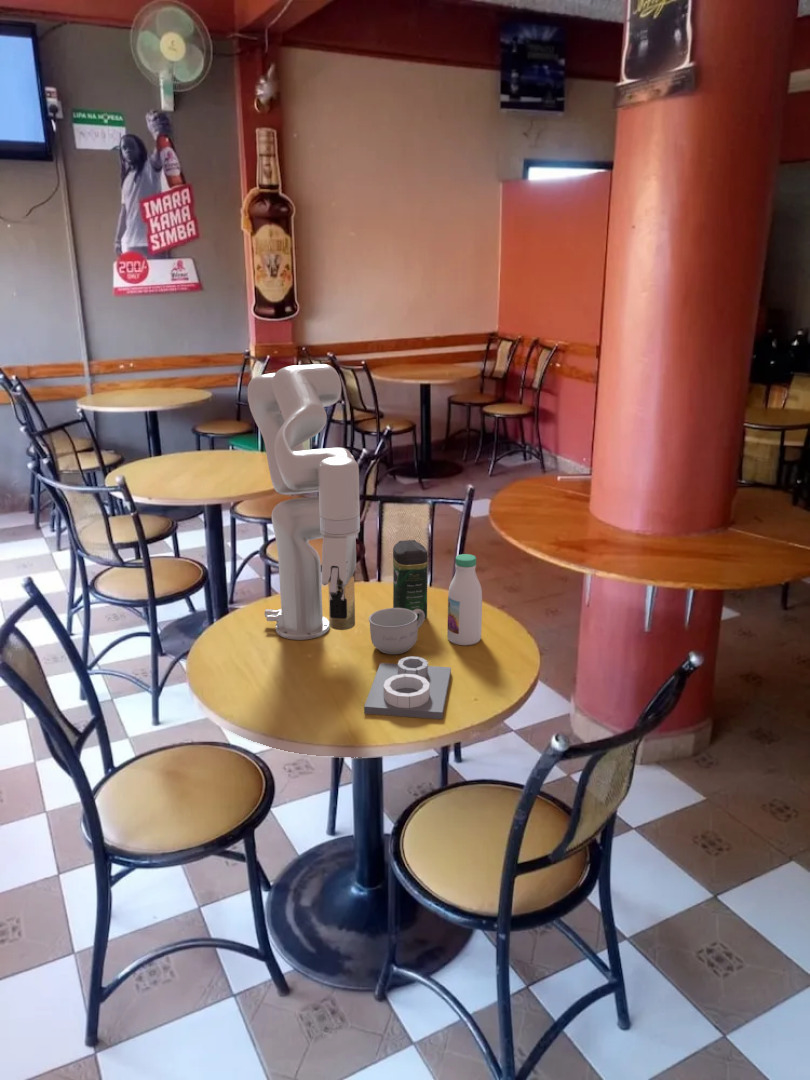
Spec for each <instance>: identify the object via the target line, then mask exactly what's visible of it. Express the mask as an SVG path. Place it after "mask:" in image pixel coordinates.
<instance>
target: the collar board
mask: <svg viewBox="0 0 810 1080" xmlns="http://www.w3.org/2000/svg"><path fill="white" fill-rule="evenodd" d="M451 675H452V667H450V666H435V665H432V666H431V665H429V662H428V660H427V659H425V658H424V657H420V656H414V655H413V656H411V655H409V656H406V657H402V658H400V659H398V662H397V663H391V662H389V663H388V662H380V663H379V666H378V669H377V670H376V673H375V676H374V679H373V682H372V685H371V687H370V690H369V693H368V695H367V698H366V701H365V703H364V705H363V708H364V709H363V710H364V711H363V713H364V714H365V715H379V716H380V715H382V716H393V717H408V718H419V719H421V718H422V719H433V720H443V718H444V717H443V716H444V711H445V706H446V701H447V696H448V691H449V686H450V680H451Z"/></svg>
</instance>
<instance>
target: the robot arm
mask: <svg viewBox="0 0 810 1080" xmlns="http://www.w3.org/2000/svg"><path fill="white" fill-rule="evenodd" d="M246 392H247V402H248V406H249V409H250V412H251V416H252V417H253V420H254V422H255V424H256V426H257V427H258V429H259V432H260V434H261V436H262V439H263V442H264V447H265V453H266V454H265V455H266V458H267V464H268V470H269V474H270V480H271V483H272V486H273V487H272V488H274V490H275V492H276V493H278V494H280V495H285V496H286V495H287V496H289V495H298V494H299V495H300V494H310V493H318V496H312V497H310V496H309V497H301V498H299V497H298V498H291V499H287V500H284V501H281V502H279V503H277V504H276V505H275V506H274V507H273V509H272V511H271V523H272V528H273V533H274V539H275V543H276V548H277V558H278V559H277V560H278V561H277V563H278V576H279V592H280V607H281V608H278V610H277V609H270V608H269V609H267V608H266V609H265V610H264V617H265V618H266V621H267V622H276V624H275V632H276V633H277V635H279V636H280V637H282V638H284V639H289V640H296V641H304V640H311V639H316V638H318V637H321V636H323V635H325V634H326V633H328V631H329V630H330V628H331V627H330V621H329V620H328V618H327V617H325V616H323V615H324V613H323V596H322V595H323V594H322V585H323V586H326V585H328V582H329V581H330V589H328V594H329V593H330V617H331V618H340V619H346V618H347V599H345V586H346V585H347V584H348V583H349V581H350V579H351V577H352V575H353V576H354V573H355V571H356V567H357V544H356V543H357V541H356V535H357V534H359V533H360V531H361V525H360V524H361V523H360V522H361V517H360V516H361V514H360V468H359V464H358V462H357V461H356V460H355V457H354V455H352V453H351V451H350V450H348V448H345V447H329V448H327V447H326V448H314V449H305V448H304V442H306V441H308V440H310V439H312V438H313V437H315V436H317V435H318V434H319V433H321V432H322V431H323V429H324V427H325V426H326V423H327V419H328V418H327V417H328V416H327V411H326V409H325V407H329V406H332V405H334V404H336V403H338V401H339V400H340V397H341V395H342V382H341V378H340V375H339V374H338V372H337V370H336V369H335V368H334V367H333V366H331V365H330V364H326V363H320V364H301V365H300V364H299V365H289V366H285V367H282V368H280V369H278V370H277V371H276V372H270V373H265V374H264V373H263V374H260V375H257V376H255V377H253V378H252V379H251V380H250V381H249V383H248V385H247V391H246ZM318 539H322V546H321V547H322V550H321V552H322V553H321V557H320V555H319V553H318V551H317V550H316V549H315V548H314V547H313V546H312V545H311V544H310V543H309V542H310V541H314V540H318ZM338 581H343V583H342V584H338ZM338 587H342V588H341V591H340V590H338Z"/></svg>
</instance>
